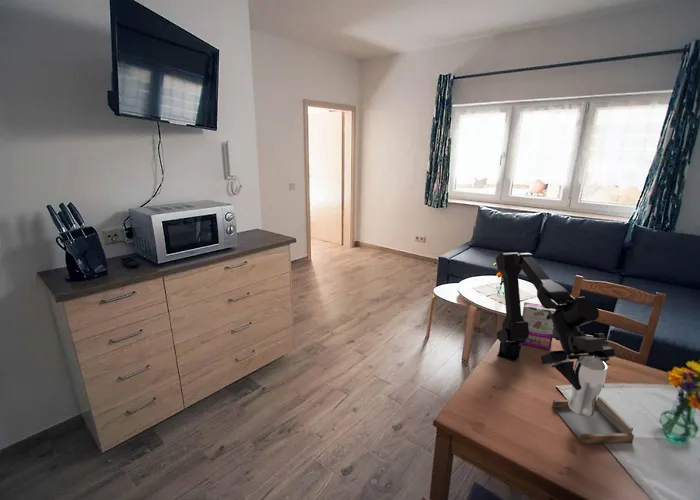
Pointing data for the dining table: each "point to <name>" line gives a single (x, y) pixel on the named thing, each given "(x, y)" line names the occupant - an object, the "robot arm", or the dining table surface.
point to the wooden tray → (595, 423)
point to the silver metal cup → (587, 384)
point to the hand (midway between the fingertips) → (590, 388)
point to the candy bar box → (538, 326)
